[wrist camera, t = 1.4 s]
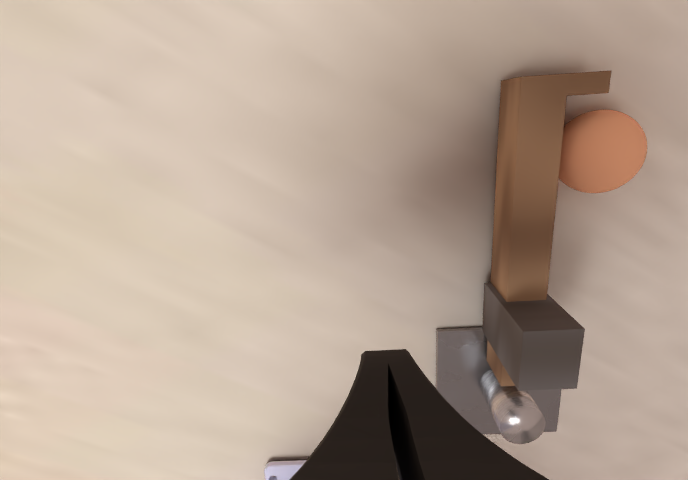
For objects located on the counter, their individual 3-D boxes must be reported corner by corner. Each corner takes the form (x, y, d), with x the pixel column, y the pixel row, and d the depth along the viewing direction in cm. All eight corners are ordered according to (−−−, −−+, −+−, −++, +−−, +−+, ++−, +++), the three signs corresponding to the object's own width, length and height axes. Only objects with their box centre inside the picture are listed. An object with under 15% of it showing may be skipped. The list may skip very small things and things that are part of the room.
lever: (549, 357, 22) (602, 422, 17) (481, 360, 22) (515, 425, 17) (580, 75, 18) (661, 62, 13) (494, 81, 18) (544, 70, 13)
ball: (607, 183, 20) (660, 197, 16) (534, 187, 20) (572, 202, 16) (617, 107, 18) (676, 106, 15) (540, 112, 19) (582, 112, 15)
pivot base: (554, 427, 24) (586, 478, 21) (435, 432, 24) (449, 483, 21) (566, 323, 22) (605, 360, 19) (436, 329, 22) (451, 367, 19)
